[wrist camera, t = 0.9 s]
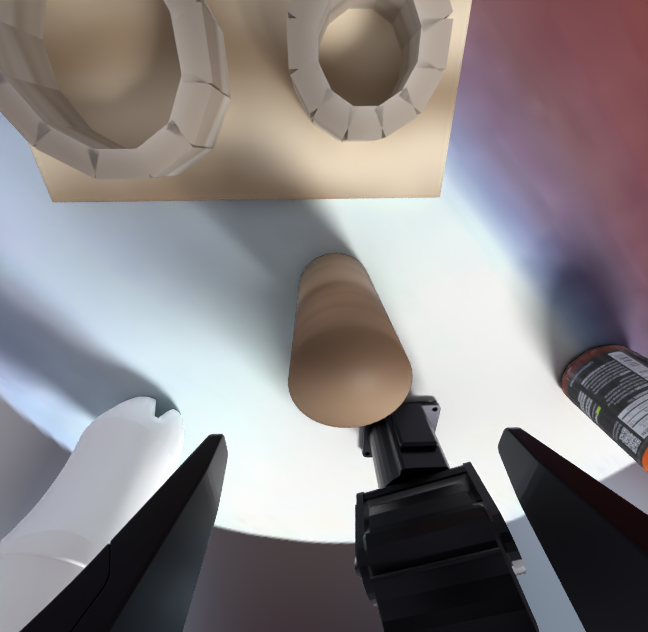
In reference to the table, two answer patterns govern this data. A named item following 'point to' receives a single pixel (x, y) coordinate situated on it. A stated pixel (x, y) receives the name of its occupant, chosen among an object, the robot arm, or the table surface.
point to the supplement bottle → (613, 395)
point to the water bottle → (87, 505)
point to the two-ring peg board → (233, 96)
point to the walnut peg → (344, 347)
